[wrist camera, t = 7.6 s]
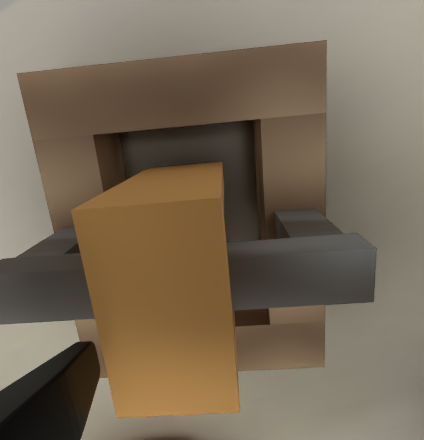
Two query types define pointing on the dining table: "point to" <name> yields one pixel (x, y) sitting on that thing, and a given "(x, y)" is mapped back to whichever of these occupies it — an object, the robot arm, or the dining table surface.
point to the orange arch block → (162, 291)
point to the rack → (265, 181)
